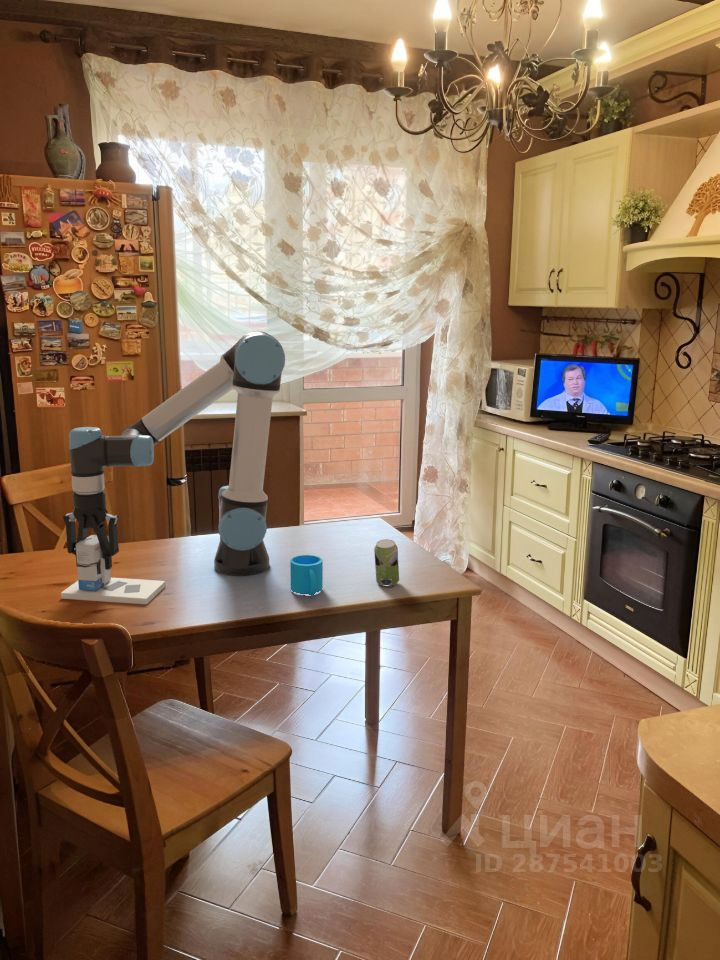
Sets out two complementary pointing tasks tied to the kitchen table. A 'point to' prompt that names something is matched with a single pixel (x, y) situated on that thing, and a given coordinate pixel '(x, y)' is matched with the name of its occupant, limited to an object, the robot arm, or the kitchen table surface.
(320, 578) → the mug
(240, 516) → the robot arm
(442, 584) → the kitchen table surface
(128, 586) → the board
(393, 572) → the beverage can
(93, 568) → the ink box
